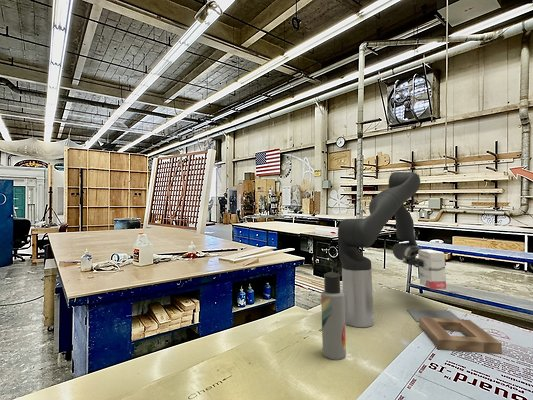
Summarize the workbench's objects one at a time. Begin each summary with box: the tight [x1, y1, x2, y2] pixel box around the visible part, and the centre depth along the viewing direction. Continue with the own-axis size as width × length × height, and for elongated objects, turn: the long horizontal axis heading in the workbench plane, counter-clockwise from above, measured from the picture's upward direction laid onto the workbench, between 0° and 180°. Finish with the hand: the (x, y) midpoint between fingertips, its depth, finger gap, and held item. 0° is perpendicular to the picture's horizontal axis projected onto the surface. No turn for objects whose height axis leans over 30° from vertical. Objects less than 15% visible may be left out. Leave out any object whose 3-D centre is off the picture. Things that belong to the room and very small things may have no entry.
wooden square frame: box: [418, 317, 503, 355], centre depth 79 cm, size 14×16×2 cm
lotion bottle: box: [320, 271, 347, 360], centre depth 72 cm, size 6×6×20 cm
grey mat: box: [405, 308, 461, 323], centre depth 96 cm, size 14×12×1 cm
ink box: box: [418, 248, 447, 290], centre depth 97 cm, size 9×5×12 cm, turn 176°
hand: (432, 264), depth 96 cm, fingers closed on ink box, 5 cm apart
